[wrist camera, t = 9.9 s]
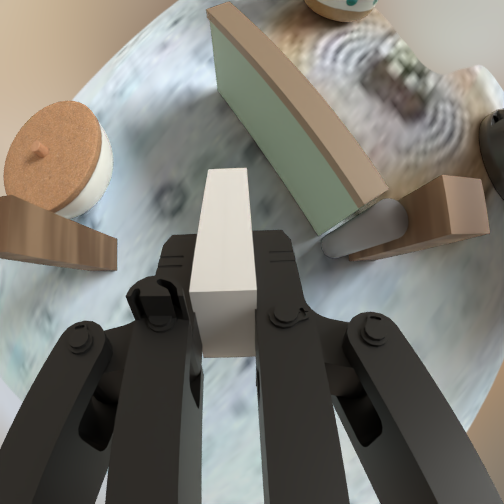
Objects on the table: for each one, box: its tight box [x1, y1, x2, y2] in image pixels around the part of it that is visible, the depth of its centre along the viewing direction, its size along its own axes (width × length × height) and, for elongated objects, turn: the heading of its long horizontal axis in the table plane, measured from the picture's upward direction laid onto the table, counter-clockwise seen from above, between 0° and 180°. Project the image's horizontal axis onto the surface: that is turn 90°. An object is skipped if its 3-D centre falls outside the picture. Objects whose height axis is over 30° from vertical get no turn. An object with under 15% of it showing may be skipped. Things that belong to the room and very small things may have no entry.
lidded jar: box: [4, 101, 113, 219], centre depth 24 cm, size 11×11×9 cm
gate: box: [206, 2, 409, 258], centre depth 23 cm, size 21×2×12 cm, turn 32°
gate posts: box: [0, 175, 490, 271], centre depth 21 cm, size 28×3×16 cm, turn 92°
